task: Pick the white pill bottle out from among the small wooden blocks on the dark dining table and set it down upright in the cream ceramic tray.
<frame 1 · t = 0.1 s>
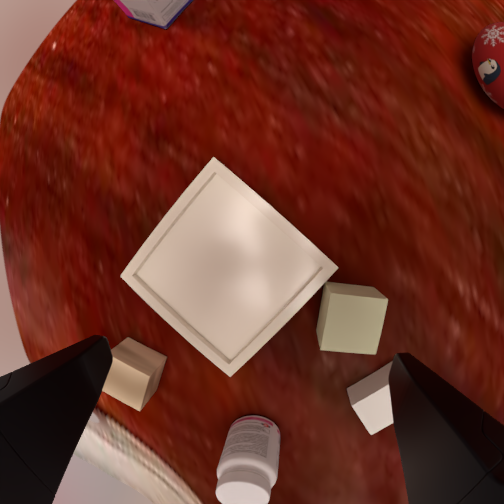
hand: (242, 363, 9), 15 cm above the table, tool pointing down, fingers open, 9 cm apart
supplement box: (164, 3, 23), on the table
christmas ornament: (491, 83, 20), on the table
white block: (380, 388, 24), on the table
pill bottle: (255, 431, 26), on the table
tray: (224, 270, 24), on the table
beech block: (142, 363, 26), on the table
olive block: (344, 308, 24), on the table
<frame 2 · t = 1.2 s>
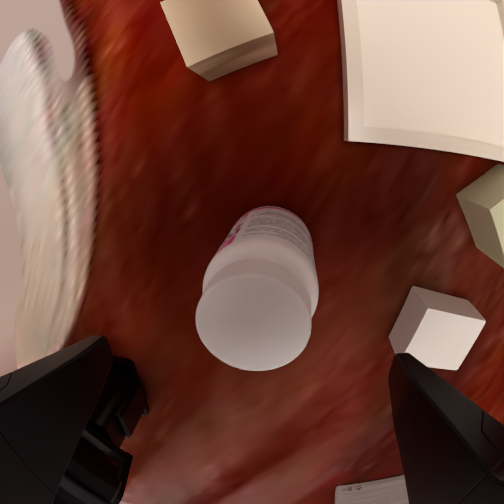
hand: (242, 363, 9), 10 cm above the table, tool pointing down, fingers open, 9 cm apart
white block: (429, 317, 19), on the table
supplement box 2: (370, 493, 28), on the table
pill bottle: (270, 244, 18), on the table
tray: (438, 53, 13), on the table
beech block: (230, 38, 14), on the table
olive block: (487, 205, 16), on the table
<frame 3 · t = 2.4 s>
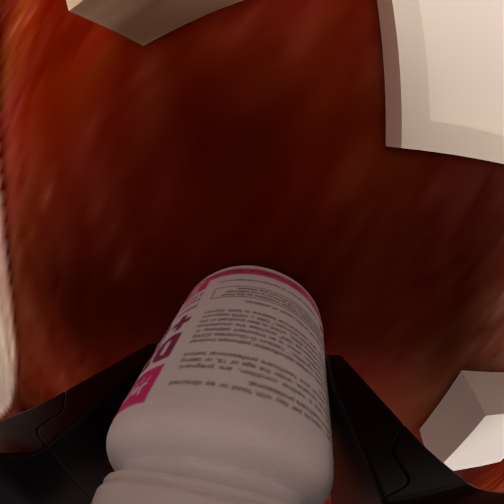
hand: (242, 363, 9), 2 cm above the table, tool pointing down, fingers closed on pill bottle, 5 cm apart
white block: (474, 400, 11), on the table
pill bottle: (252, 322, 11), on the table, touching gripper
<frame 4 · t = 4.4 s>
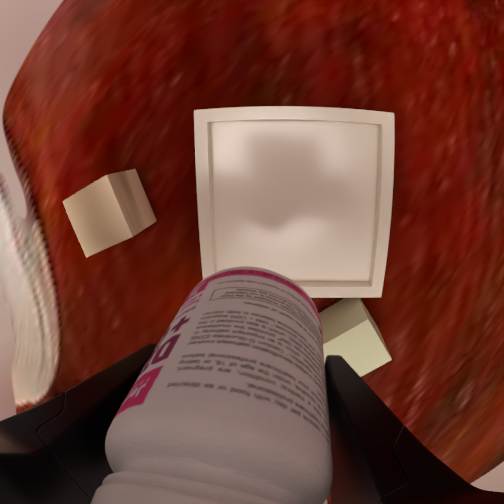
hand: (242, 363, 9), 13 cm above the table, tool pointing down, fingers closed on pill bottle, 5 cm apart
pill bottle: (251, 323, 11), point 11 cm above the table, touching gripper
tray: (295, 202, 20), on the table
beech block: (124, 205, 21), on the table
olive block: (344, 323, 23), on the table
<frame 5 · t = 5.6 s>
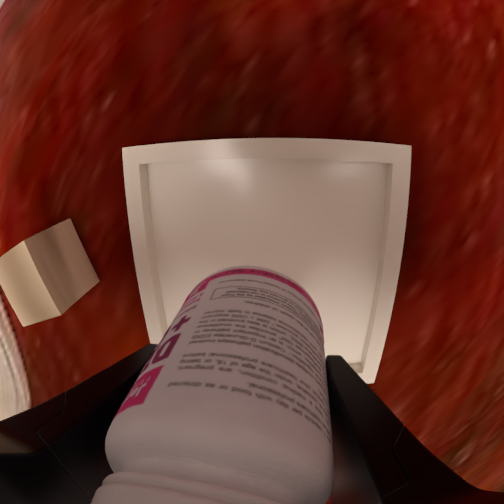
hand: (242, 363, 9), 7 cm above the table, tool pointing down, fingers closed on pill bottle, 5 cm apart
pill bottle: (251, 322, 11), point 5 cm above the table, touching gripper
tray: (265, 268, 15), on the table
beech block: (64, 259, 17), on the table
when the fingers open (4 cm above the table, at t = 6.5 s): pill bottle drops 1 cm, resting on tray.
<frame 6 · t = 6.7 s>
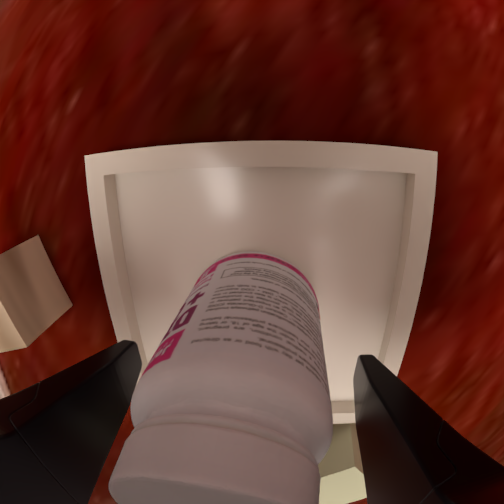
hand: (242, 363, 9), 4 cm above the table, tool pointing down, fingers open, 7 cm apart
pill bottle: (254, 304, 12), resting on tray
tray: (257, 298, 12), on the table
beech block: (35, 279, 14), on the table
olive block: (329, 434, 15), on the table
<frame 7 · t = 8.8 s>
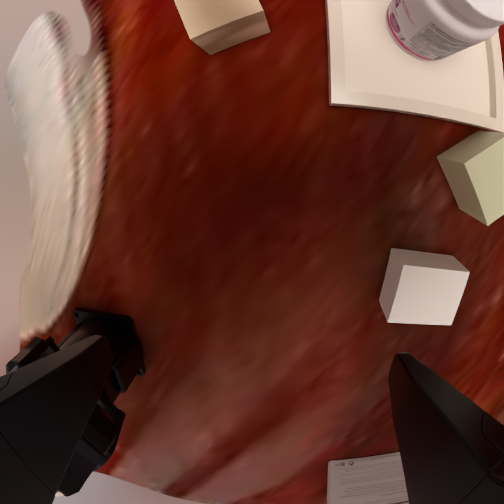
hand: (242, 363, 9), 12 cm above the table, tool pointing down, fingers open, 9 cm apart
white block: (416, 277, 20), on the table
supplement box 2: (364, 471, 30), on the table
pill bottle: (418, 29, 14), resting on tray
tray: (417, 30, 14), on the table
beech block: (229, 19, 16), on the table
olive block: (469, 169, 17), on the table
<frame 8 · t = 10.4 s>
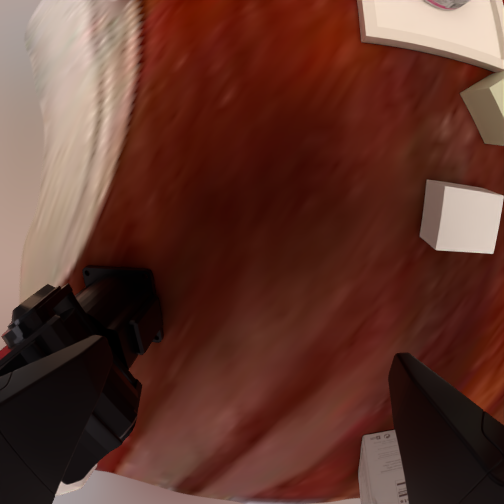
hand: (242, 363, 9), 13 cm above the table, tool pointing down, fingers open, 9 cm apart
white block: (451, 210, 19), on the table
supplement box 2: (397, 447, 28), on the table
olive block: (488, 107, 16), on the table
white faceted ball: (66, 403, 32), on the table
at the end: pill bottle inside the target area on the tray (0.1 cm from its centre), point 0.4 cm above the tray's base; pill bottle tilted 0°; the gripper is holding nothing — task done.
